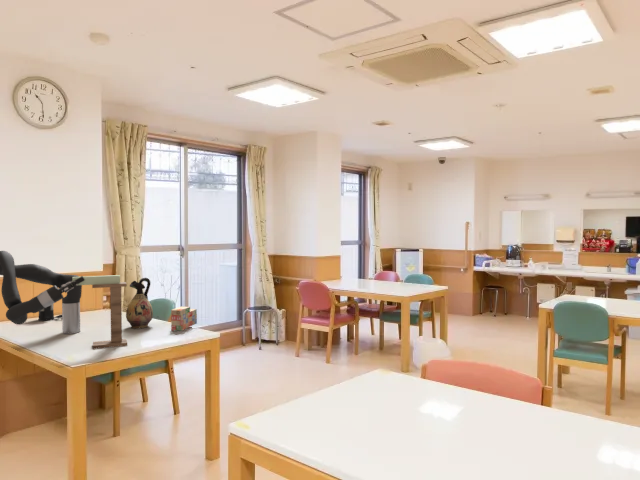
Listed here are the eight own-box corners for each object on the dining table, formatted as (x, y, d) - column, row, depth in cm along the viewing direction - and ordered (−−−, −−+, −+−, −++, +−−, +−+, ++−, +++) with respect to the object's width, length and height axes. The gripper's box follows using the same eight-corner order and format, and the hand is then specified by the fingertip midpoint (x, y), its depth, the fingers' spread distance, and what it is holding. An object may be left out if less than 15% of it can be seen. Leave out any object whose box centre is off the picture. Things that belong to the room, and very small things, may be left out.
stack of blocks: (187, 323, 314) (187, 303, 313) (197, 323, 312) (196, 304, 312) (171, 330, 293) (170, 309, 292) (180, 330, 292) (180, 310, 291)
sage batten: (72, 284, 250) (72, 276, 250) (119, 282, 259) (119, 275, 259) (72, 285, 247) (72, 277, 247) (120, 283, 257) (120, 275, 256)
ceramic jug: (131, 330, 291) (131, 279, 290) (122, 326, 303) (121, 277, 302) (159, 326, 302) (159, 277, 301) (149, 323, 314) (149, 275, 313)
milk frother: (35, 319, 324) (35, 297, 323) (59, 316, 337) (59, 294, 336) (46, 322, 316) (46, 299, 315) (70, 318, 328) (70, 296, 328)
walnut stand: (93, 344, 258) (92, 283, 257) (126, 341, 264) (125, 281, 263) (93, 348, 249) (92, 285, 248) (127, 345, 256) (126, 283, 255)
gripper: (44, 292, 237) (79, 272, 243) (46, 288, 250) (79, 270, 256) (53, 305, 239) (87, 285, 245) (55, 300, 252) (87, 282, 258)
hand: (83, 277), depth 251 cm, fingers closed on sage batten, 3 cm apart
